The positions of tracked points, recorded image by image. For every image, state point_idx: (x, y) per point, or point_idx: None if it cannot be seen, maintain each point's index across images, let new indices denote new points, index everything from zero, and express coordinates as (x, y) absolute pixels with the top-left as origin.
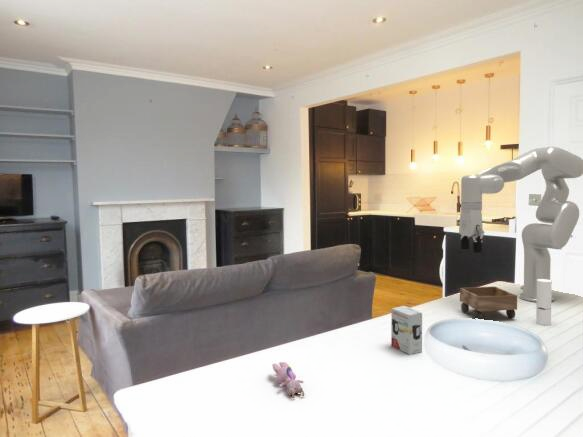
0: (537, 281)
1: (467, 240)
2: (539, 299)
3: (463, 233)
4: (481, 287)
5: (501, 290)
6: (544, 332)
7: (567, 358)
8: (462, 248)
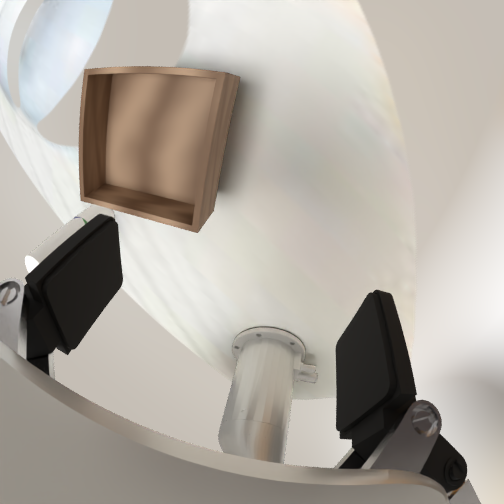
0: (36, 256)
1: (346, 416)
2: (61, 228)
3: (195, 501)
4: (199, 171)
5: (148, 212)
6: (64, 170)
7: (4, 124)
8: (370, 297)
